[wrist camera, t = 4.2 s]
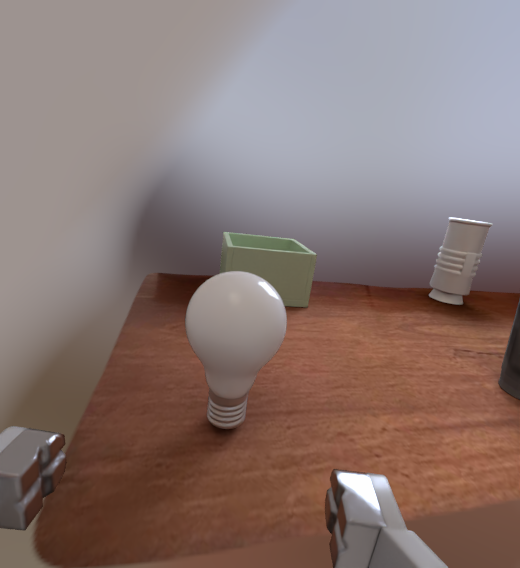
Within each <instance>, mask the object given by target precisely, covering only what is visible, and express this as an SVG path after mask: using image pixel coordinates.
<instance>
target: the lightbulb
mask: <svg viewBox="0 0 520 568" xmlns="http://www.w3.org/2000/svg"><path fill="white" fill-rule="evenodd" d="M185 328H186V334H187V338H188V341H189V343H190V345H191V347H192V349H193V351H194V353H195V354H196V356H197V357H198V358H199V360H200V361H201V363H202V364H203V366H204V370H205V377H206V381H207V384H208V386H209V397H208V400H209V401H208V407H207V418H208V420H209V422H210V423H211V424H212V425H214V426H216V427H218V428H222V429H232V428H235V427H238V426H239V425H241V424H242V423H243V422H244V420H245V415H246V406H247V400H248V393H249V390H250V389H251V387H252V386H253V384H254V381H255V379H256V376H257V374H258V372H259V371H260V369H261V368H262V367H263V366H265V365H266V364H267V363H268V362H269V361H270V360H271V359H272V358H273V356H274V355H275V354H276V353H277V351H278V350H279V348H280V346H281V345H282V342H283V340H284V337H285V333H286V328H287V316H286V310H285V306H284V303H283V301H282V299H281V297H280V295H279V294H278V292H277V291H276V289H275V288H274V287H273V286H272V285H271V284H270V283H269V282H267V281H266V280H265V279H263V278H261V277H259V276H257V275H255V274H252V273H248V272H243V271H230V272H224V273H221V274H218V275H215V276H213V277H211V278H210V279H208V280H207V281H205V282H204V283H203V284H202V285H201V286H200V287H199V288H198V289H197V290H196V291H195V293H194V294H193V296H192V298H191V300H190V302H189V304H188V307H187V311H186V317H185Z"/></svg>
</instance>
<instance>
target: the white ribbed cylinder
mask: <svg viewBox="0 0 520 568" xmlns="http://www.w3.org/2000/svg"><path fill="white" fill-rule="evenodd" d="M491 226H492V223H486V222H478V221H472V220H465V219H457V218H449V225H448V228H447V232H446V235H445V238H444V242H443V245H442V246H441V247H440V248H439V250H441V252H439V253H438V256H439V258H438V259H436V262H437V264H436V265H434V268H435V271H434V273H433V276H432V278H431V281H430V286H431V287H433V288H434V289H433V290H432V291H431V293H430V294H429V296H430V297H431V298H433V299H436V300H438V301H442V302H445V303H450V304H457V305H460V304H463V300H462V295H468V294H469V292H470V287H471V283H472V279H473V277H474V276H475V275H476V273H475V270H478V266H477V264H480V260H479V258H481V257H482V254H481V250H482V248H483V245H484V242H485V239H486V236H487V233H488V230H489V227H491Z"/></svg>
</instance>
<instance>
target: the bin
mask: <svg viewBox="0 0 520 568" xmlns="http://www.w3.org/2000/svg"><path fill="white" fill-rule="evenodd" d="M316 257H317V255H316V254H315V253H314V252H312V251H311V250H309V249H308V248H306V247H305V246H303V245H302V244H301V243H299V242H298V241H296V240H295V239H288V238H277V237H267V236H258V235H248V234H239V233H228V232H224V234H223V245H222V255H221V266H220V274H221V273H224V272H230V271H243V272H248V273H252V274H255V275H257V276H259V277H261V278H263V279H265V280H266V281H267V282H269V283H270V284H271V285H272V286H273V287H274V288H275V289H276V291H277V292H278V294H279V295H280V297H281V299H282V301H283V303H284V306H293V307H308V302H309V296H310V291H311V285H312V279H313V274H314V268H315V263H316Z"/></svg>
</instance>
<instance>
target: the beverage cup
mask: <svg viewBox="0 0 520 568" xmlns="http://www.w3.org/2000/svg"><path fill="white" fill-rule="evenodd" d="M501 368H502V370H501V375H500V379H499V385H500V387H501V388H502V389H503V390H505V391H506V392H507V393H509V394H510V395H512V396H514V397H516V398H518V399H520V300H519V303H518V307H517V311H516V315H515V318H514V322H513V326H512V330H511V333H510V337H509V341H508V345H507V348H506V352H505V356H504V360H503V363H502V367H501Z"/></svg>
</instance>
